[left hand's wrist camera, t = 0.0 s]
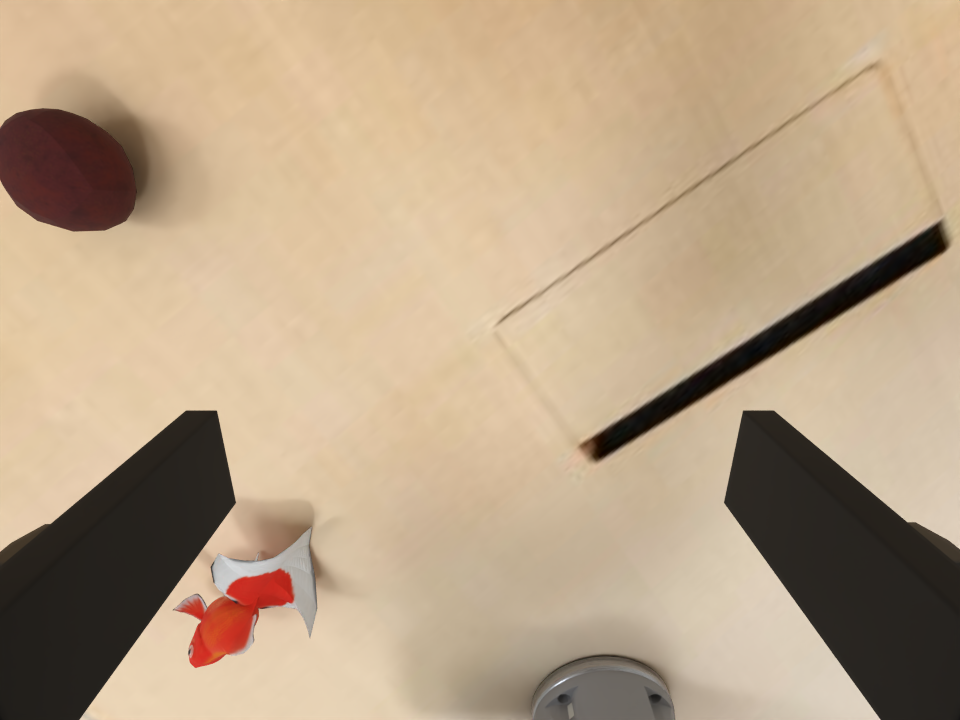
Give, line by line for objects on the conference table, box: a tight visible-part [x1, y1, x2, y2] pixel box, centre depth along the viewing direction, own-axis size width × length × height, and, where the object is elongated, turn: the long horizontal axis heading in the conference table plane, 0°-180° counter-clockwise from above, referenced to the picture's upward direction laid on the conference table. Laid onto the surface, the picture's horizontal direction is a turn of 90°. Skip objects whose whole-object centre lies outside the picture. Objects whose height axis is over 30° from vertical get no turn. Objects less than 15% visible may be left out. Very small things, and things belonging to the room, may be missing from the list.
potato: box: [0, 108, 137, 231], centre depth 33 cm, size 7×8×7 cm
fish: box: [173, 527, 317, 668], centre depth 46 cm, size 11×16×10 cm
